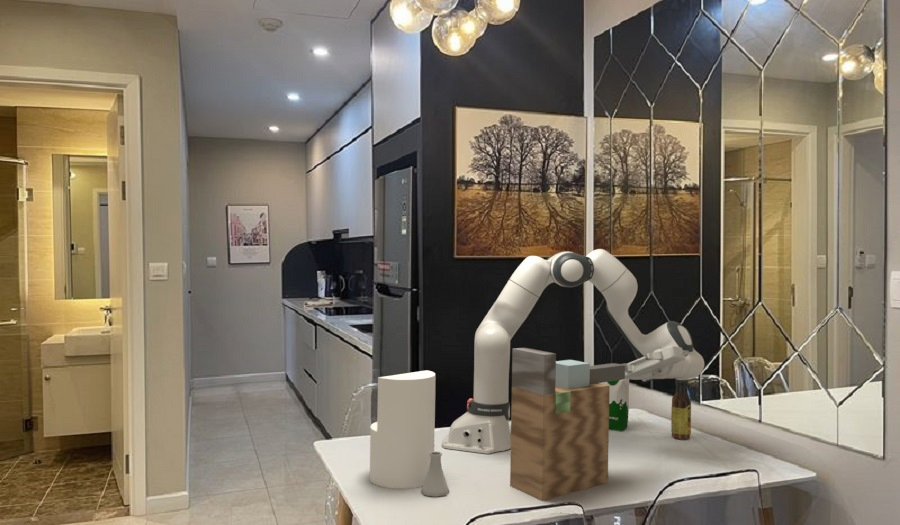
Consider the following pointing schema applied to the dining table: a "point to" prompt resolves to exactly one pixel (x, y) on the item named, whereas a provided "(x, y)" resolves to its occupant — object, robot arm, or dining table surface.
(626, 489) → the dining table surface
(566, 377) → the mallet
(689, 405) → the sauce bottle
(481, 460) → the dining table surface
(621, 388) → the milk carton
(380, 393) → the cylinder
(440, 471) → the flask
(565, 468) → the wood grain block
